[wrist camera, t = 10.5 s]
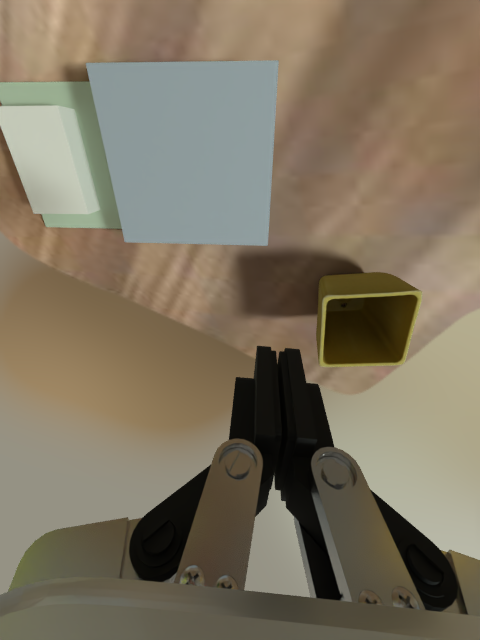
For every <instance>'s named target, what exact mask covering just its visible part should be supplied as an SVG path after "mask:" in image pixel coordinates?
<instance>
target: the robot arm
mask: <svg viewBox="0 0 480 640" xmlns="http://www.w3.org/2000/svg"><path fill="white" fill-rule="evenodd" d="M274 476H275V489H276V490H281V500H282V501H286V508H287V509H288V510H289V511H290V512H291V513H292V515H293V516H294V523H295V528H296V533H297V537H298V541H299V546H300V550H301V556H302V560H303V565H304V569H305V574H306V578H307V583H308V587H309V592H310V597H311V598H309V597H301V596H291V595H282V594H272V593H262V592H254V591H244V587H245V581H246V574H247V567H248V561H249V554H250V548H251V541H252V534H253V528H254V521H255V517H256V516H257V515H258V514H259V512H260V511H261V510H262V509H263V508H264V507H265V506H266V504H267V500H268V495H269V490H270V489H271V486H272V482H273V477H274ZM0 640H480V560H477V559H475V558H472V557H469V556H466V555H463V554H461V553H458V552H455V551H452V550H449V551H448V552H445V551H441V550H439V548H438V547H437V546H436V545H435V544H434V543H433V542H431V541H430V540H429V539H428V538H427V537H425V535H423V534H422V533H421V532H420V531H419V530H417V529H416V528H415V527H414V526H413V525H412V524H410V523H409V522H408V521H407V520H406V519H404V518H403V517H402V516H401V515H400V514H399V513H397V512H396V511H395V510H394V509H393V508H392V507H390V506H389V505H388V504H387V503H386V502H384V501H383V500H382V499H381V498H379V497H378V496H377V495H376V494H375V493H374V492H372V491H371V490H370V488H369V486H368V484H367V482H366V480H365V477H364V475H363V473H362V471H361V469H360V467H359V466H358V464H357V462H356V461H355V460H354V459H353V458H352V457H351V456H350V455H349V454H347V453H346V452H344V451H343V450H340V449H338V448H335V447H334V444H333V440H332V436H331V432H330V428H329V424H328V420H327V416H326V412H325V408H324V404H323V400H322V396H321V392H320V388H319V385H318V384H311V383H306V379H305V374H304V369H303V364H302V359H301V354H300V350H299V349H290V348H285V351H284V352H282V351H280V352H279V358H278V364H277V358H276V351H271V347H265V346H257V352H256V362H255V371H254V379H252V378H240V377H236V381H235V391H234V399H233V409H232V417H231V426H230V436H229V440H228V441H226V442H224V443H223V444H221V446H220V447H219V448H218V449H217V451H216V453H215V455H214V458H213V461H212V464H211V465H210V466H209V467H207V468H206V469H205V470H203V471H202V472H201V473H199V474H198V475H197V476H196V477H194V478H193V479H192V480H190V481H189V482H188V483H187V484H185V485H184V486H182V487H181V488H180V489H178V490H177V491H176V492H175V493H173V494H172V495H171V496H170V497H168V498H167V499H165V500H164V501H163V502H162V503H160V504H159V505H158V506H156V507H155V508H154V509H152V510H151V511H150V512H148V513H147V514H146V515H145V516H144V517H143V518H140V519H134V520H129V519H128V517H127V518H122V519H116V520H110V521H104V522H98V523H92V524H86V525H80V526H75V527H68V528H63V529H57V530H54V531H51V532H48V533H46V534H44V535H43V536H41V537H40V538H39V539H37V540H36V541H35V542H34V543H33V544H32V545H31V546H30V547H29V548H28V550H27V551H26V552H25V554H24V556H23V557H22V559H21V561H20V563H19V565H18V567H17V570H16V573H15V575H14V578H13V580H12V583H11V585H10V588H9V590H8V592H7V593H4V594H1V595H0Z"/></svg>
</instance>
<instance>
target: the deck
mask: <svg viewBox="0 0 480 640" xmlns="http://www.w3.org/2000/svg"><path fill="white" fill-rule="evenodd" d="M86 67H87V71H88V76H89V80H90V85H91V90H92V94H93V99H94V103H95V108H96V112H97V117H98V122H99V126H100V131H101V135H102V140H103V144H104V149H105V154H106V158H107V163H108V167H109V172H110V176H111V181H112V185H113V190H114V195H115V199H116V204H117V208H118V213H119V217H120V222H121V227H122V231H123V236H124V240H125V242H141V243H181V244H222V245H263V246H268V231H269V214H270V197H271V180H272V163H273V146H274V129H275V112H276V95H277V78H278V61H203V62H125V63H86Z"/></svg>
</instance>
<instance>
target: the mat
mask: <svg viewBox="0 0 480 640" xmlns="http://www.w3.org/2000/svg"><path fill="white" fill-rule="evenodd" d="M0 101H1V104H2V106H54V105H58V106H63V107H67V108H71V109H75V113H76V117H77V121H78V125H79V128H80V132H81V136H82V140H83V144H84V148H85V152H86V156H87V160H88V163H89V167H90V171H91V175H92V179H93V183H94V187H95V191H96V194H97V198H98V202H99V206H100V210H99V211H96V212H93V213H90V214H42V217H43V220H44V223H45V225H46V227H71V228H117V229H122V227H121V222H120V217H119V213H118V208H117V204H116V199H115V195H114V190H113V185H112V181H111V176H110V172H109V167H108V163H107V158H106V154H105V149H104V144H103V140H102V135H101V131H100V126H99V122H98V117H97V112H96V108H95V103H94V99H93V94H92V90H91V85H90V82H0Z"/></svg>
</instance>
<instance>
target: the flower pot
mask: <svg viewBox="0 0 480 640" xmlns="http://www.w3.org/2000/svg"><path fill="white" fill-rule="evenodd" d="M421 301H422V292H421V291H420V290H418V289H416V288H415V287H413V286H411V285H410V284H408V283H406V282H405V281H403V280H401V279H400V278H398V277H396V276H394V275H391V274H387V273H380V272H373V273H358V274H343V275H327V276H323V277H322V278H321V279H320V281H319V294H318V317H317V331H316V338H317V349H318V361H319V365H320V366H322V367H351V366H390V365H400V364H403V363H404V362H405V360H406V356H407V352H408V348H409V344H410V341H411V337H412V333H413V329H414V325H415V322H416V318H417V315H418V312H419V308H420V304H421ZM343 303H346V305H345V306H344V307H343V306H341V305H342V304H343Z"/></svg>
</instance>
